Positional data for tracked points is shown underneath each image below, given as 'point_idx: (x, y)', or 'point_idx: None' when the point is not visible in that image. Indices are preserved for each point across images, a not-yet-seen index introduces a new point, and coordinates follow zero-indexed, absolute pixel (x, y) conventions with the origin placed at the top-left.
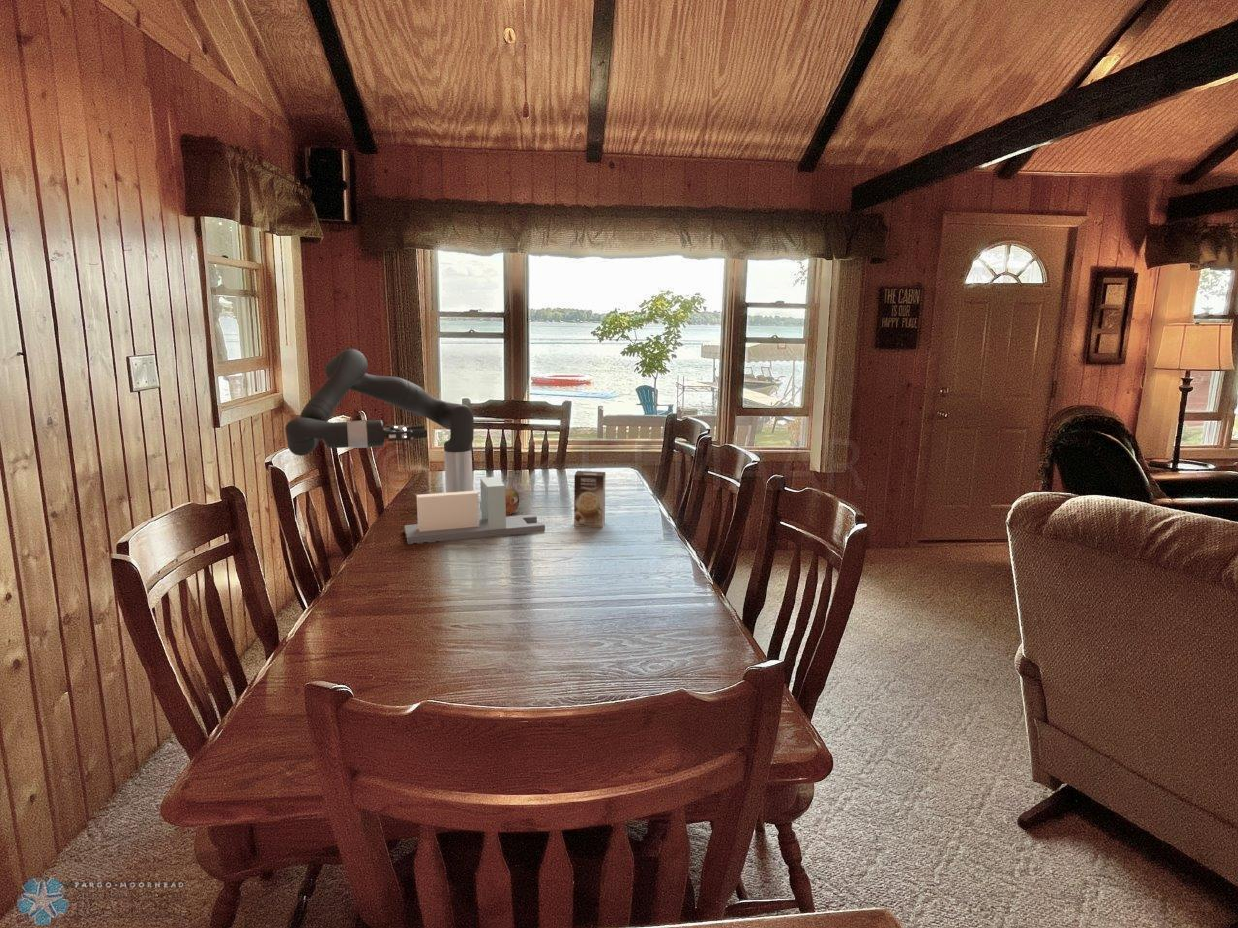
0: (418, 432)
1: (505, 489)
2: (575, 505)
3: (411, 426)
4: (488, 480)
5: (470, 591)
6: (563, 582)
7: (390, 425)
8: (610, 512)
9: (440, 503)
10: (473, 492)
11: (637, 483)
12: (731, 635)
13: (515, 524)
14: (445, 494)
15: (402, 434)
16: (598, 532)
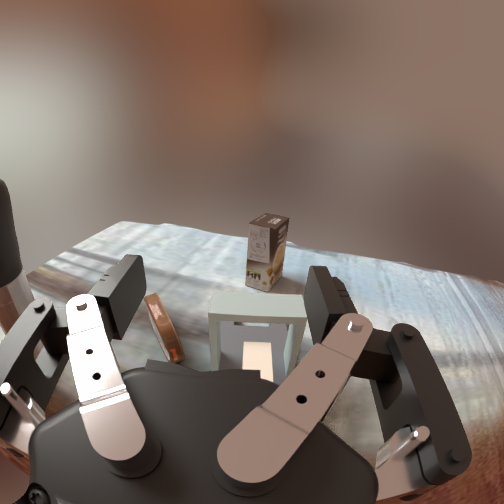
0: (351, 303)
1: (156, 301)
2: (271, 267)
3: (109, 296)
4: (242, 306)
5: (491, 396)
6: (453, 331)
7: (124, 455)
8: (223, 257)
9: None
10: (260, 348)
11: (133, 222)
12: (487, 281)
13: (269, 339)
14: None
15: (334, 400)
16: (300, 282)
